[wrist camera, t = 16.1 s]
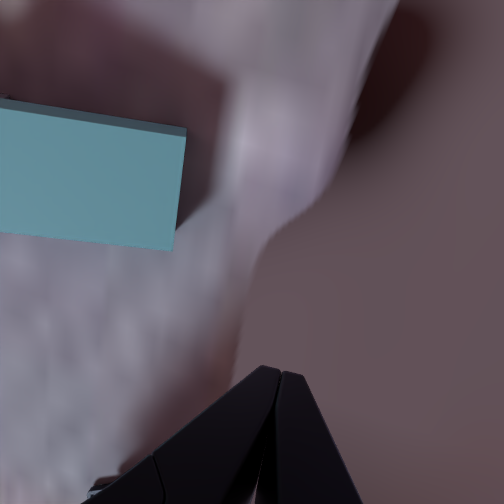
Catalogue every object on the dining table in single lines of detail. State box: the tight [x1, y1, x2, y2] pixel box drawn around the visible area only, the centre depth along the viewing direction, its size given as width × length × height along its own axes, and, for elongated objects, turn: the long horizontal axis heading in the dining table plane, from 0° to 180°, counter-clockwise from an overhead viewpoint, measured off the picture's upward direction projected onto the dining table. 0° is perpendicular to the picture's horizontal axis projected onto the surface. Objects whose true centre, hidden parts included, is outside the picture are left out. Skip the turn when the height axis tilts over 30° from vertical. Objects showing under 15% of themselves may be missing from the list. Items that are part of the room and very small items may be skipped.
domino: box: [0, 98, 187, 251], centre depth 20 cm, size 2×5×10 cm
